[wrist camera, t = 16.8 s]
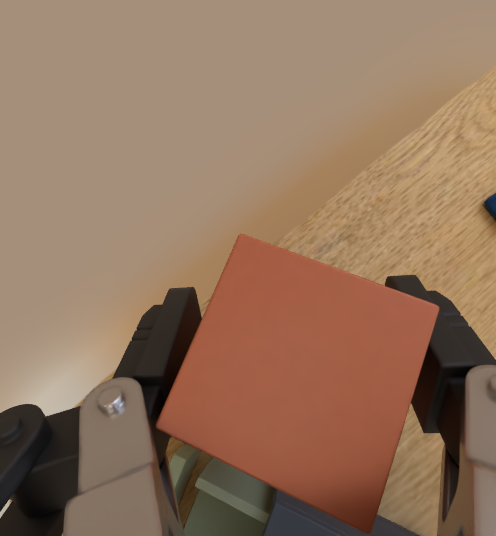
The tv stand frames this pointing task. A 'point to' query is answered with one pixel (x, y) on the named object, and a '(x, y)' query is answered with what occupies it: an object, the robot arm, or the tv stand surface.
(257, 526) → the drawer
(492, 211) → the cell phone
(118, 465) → the robot arm
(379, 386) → the block
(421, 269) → the tv stand surface
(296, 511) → the cabinet
